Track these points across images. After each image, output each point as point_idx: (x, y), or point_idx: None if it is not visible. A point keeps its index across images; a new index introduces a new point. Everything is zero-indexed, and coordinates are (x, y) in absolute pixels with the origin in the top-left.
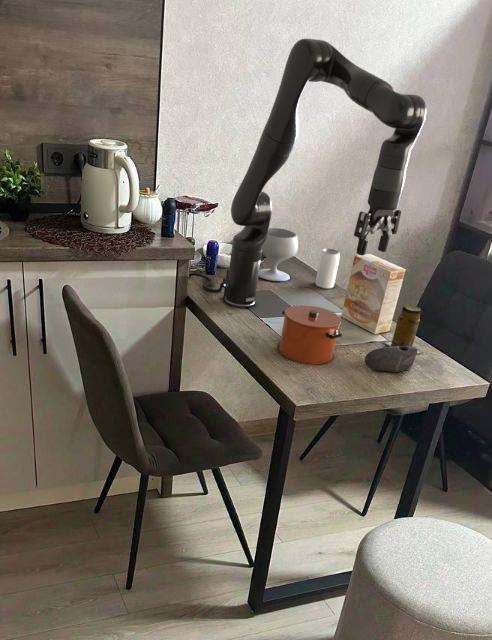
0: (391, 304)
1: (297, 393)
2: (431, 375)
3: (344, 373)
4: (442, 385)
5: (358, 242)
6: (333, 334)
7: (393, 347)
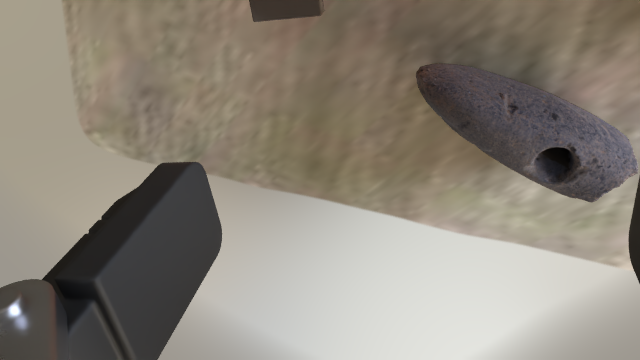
0: None
1: (105, 98)
2: (634, 192)
3: (328, 56)
4: (590, 247)
5: (59, 264)
6: (266, 13)
7: (517, 144)
